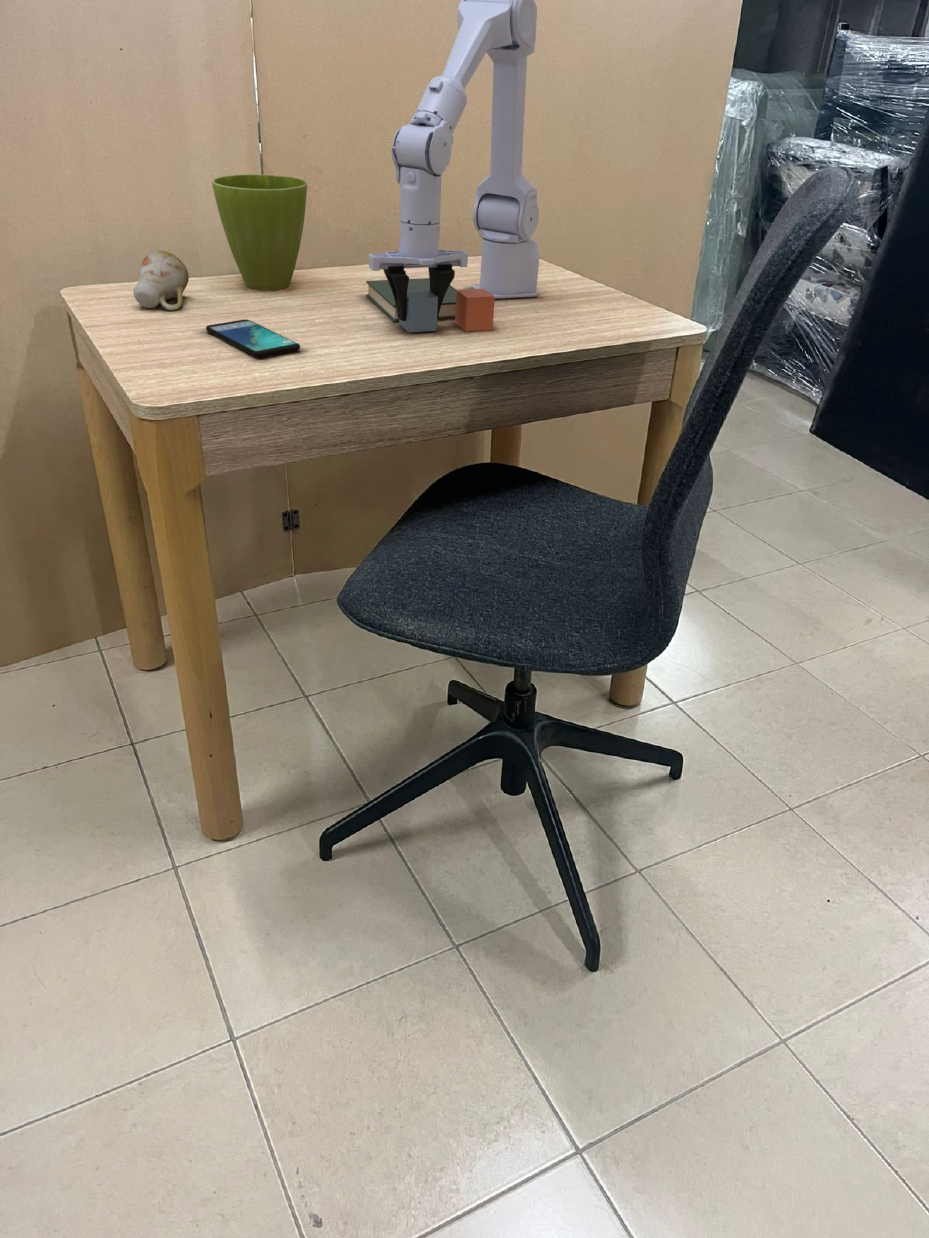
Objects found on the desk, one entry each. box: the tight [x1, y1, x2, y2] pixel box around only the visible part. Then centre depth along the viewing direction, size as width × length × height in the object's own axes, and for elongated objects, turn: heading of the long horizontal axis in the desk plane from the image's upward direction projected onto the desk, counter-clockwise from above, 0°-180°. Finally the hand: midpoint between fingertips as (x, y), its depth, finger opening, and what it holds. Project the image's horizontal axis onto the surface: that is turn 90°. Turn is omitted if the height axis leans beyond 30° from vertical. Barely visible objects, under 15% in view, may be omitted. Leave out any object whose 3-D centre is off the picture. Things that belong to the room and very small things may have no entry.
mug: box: [132, 250, 190, 311], centre depth 140 cm, size 8×10×10 cm
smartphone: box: [205, 319, 301, 358], centre depth 127 cm, size 7×1×15 cm
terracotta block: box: [454, 288, 496, 332], centre depth 138 cm, size 4×4×5 cm
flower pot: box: [211, 173, 308, 291], centre depth 149 cm, size 15×15×16 cm
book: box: [365, 277, 457, 323], centre depth 146 cm, size 13×15×2 cm
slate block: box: [398, 289, 438, 334], centre depth 135 cm, size 4×4×5 cm
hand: (417, 318), depth 136 cm, fingers closed on slate block, 4 cm apart
